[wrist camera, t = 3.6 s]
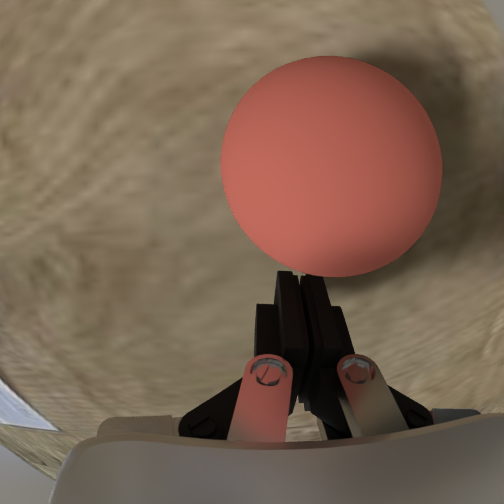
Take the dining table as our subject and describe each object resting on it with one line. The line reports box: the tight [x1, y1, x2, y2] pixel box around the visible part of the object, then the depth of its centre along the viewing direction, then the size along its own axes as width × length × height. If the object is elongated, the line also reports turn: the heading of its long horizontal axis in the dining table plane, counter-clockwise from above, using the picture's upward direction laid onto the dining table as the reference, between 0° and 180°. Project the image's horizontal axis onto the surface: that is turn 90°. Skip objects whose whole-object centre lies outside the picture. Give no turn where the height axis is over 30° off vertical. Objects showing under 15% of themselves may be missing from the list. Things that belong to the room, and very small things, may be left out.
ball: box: [221, 56, 443, 277], centre depth 8 cm, size 6×6×6 cm
